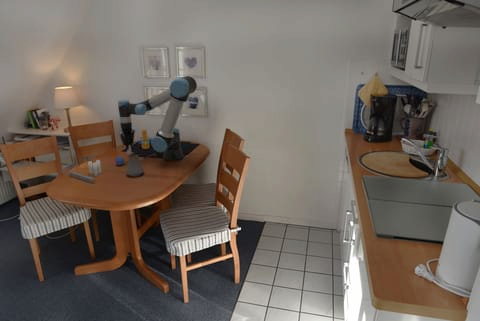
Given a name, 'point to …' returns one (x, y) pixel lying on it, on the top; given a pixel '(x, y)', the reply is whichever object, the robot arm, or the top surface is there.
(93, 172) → the back right pin
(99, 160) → the front pin
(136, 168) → the coffee pot
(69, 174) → the grey long bar
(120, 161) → the ball
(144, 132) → the yellow tall rounded piece
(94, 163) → the back left pin
